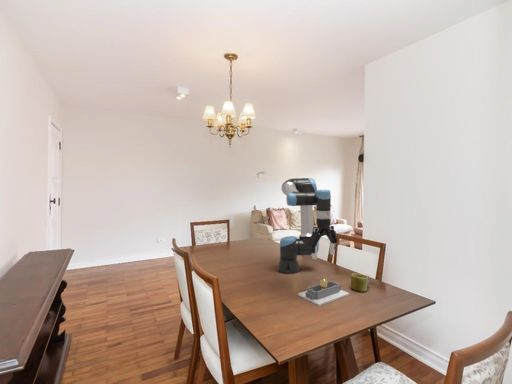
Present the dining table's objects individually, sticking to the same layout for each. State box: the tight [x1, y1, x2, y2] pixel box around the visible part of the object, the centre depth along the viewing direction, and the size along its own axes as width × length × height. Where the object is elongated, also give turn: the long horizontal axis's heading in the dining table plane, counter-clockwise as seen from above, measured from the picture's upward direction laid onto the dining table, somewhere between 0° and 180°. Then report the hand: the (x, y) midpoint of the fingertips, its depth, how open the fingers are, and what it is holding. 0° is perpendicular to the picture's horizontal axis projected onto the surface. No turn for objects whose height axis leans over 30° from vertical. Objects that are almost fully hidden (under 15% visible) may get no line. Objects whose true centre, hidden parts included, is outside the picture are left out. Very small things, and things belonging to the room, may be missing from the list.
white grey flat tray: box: [297, 280, 350, 307], centre depth 153 cm, size 16×23×5 cm
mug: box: [350, 273, 371, 293], centre depth 160 cm, size 12×10×10 cm
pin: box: [319, 277, 328, 290], centre depth 153 cm, size 4×4×8 cm
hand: (323, 256), depth 152 cm, fingers open, 13 cm apart
